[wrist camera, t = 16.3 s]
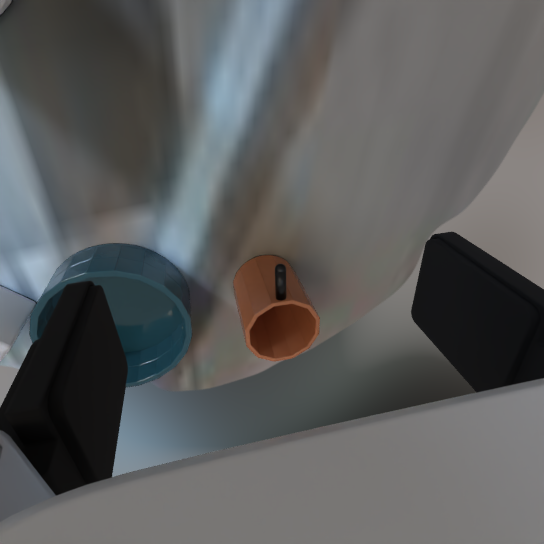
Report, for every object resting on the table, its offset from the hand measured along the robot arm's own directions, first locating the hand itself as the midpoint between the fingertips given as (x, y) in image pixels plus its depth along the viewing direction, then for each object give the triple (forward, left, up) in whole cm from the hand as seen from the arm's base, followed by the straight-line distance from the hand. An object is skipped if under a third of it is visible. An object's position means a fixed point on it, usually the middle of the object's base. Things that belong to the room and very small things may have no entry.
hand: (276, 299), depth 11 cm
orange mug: (+13, -9, -26) cm, 31 cm away
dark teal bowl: (+2, -20, -26) cm, 33 cm away
